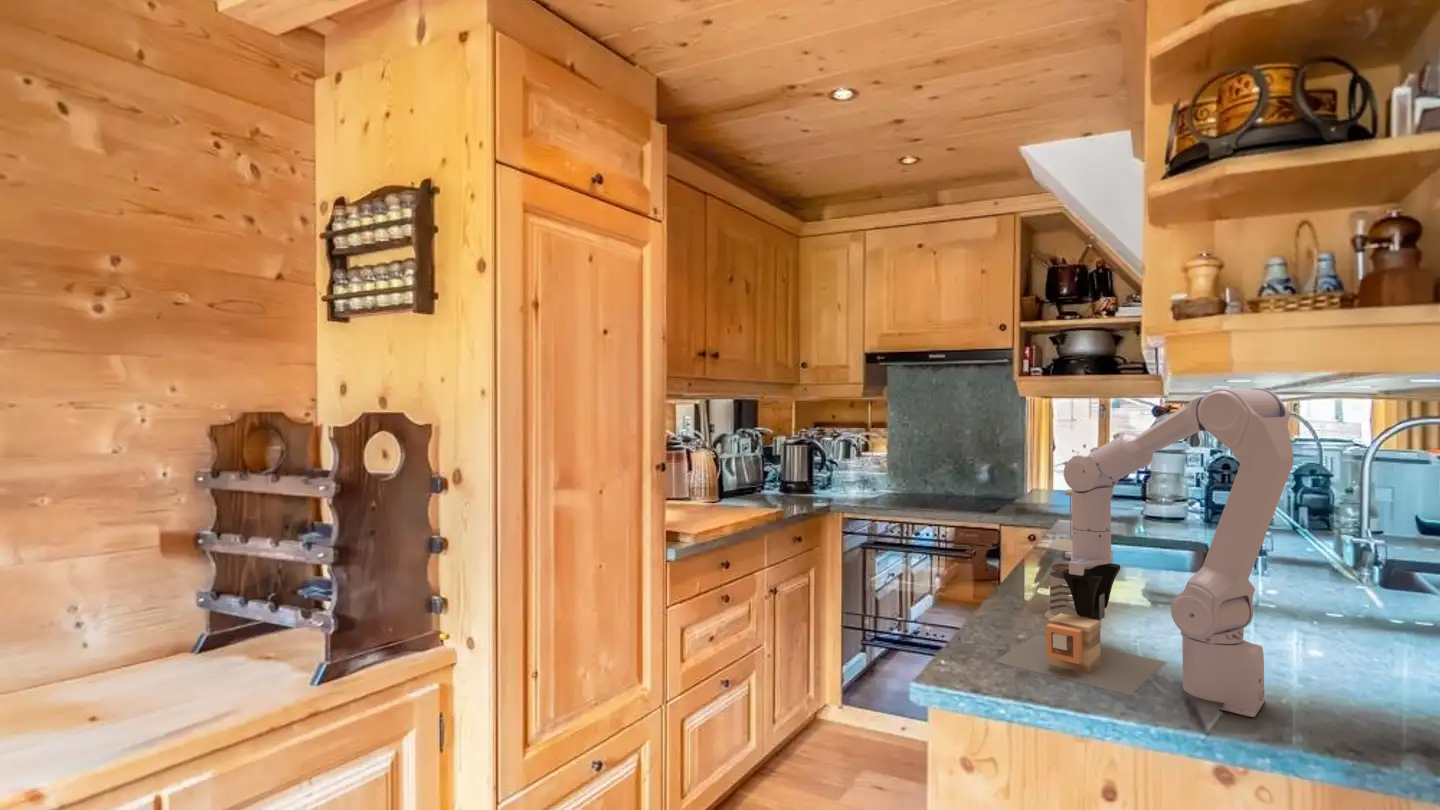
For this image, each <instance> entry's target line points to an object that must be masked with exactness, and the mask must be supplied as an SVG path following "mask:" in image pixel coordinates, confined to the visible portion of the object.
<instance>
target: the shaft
mask: <svg viewBox="0 0 1440 810" xmlns="http://www.w3.org/2000/svg"><path fill="white" fill-rule="evenodd" d="M1105 609H1106V608H1105V599H1104V593H1101V592H1096V596H1095V604H1094V611H1093V615H1092V617H1091V618H1089V617H1084V616H1080V617H1083V618H1089V619H1094V620H1099V621H1100V629H1101V628H1102V620H1103V619H1104V618H1105V615H1106V614H1105V613H1106V612H1105V611H1106V610H1105ZM1072 646H1073V636H1069V635H1064V634H1059V633H1054V634H1053V648H1058V649H1063V650H1068V649H1069V648H1071V647H1072Z"/></svg>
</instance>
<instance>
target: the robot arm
mask: <svg viewBox="0 0 1440 810" xmlns="http://www.w3.org/2000/svg"><path fill="white" fill-rule="evenodd" d="M1291 415H1292V413H1291V411H1290V410H1289V409H1288V407H1287V406H1286V404H1285V403H1284V402H1283V401H1282V400H1281V399H1280V397H1279V396H1278V395H1277V394H1276V393H1274V392H1273V391H1271V390H1269V389H1266V388H1260V387H1259V388H1250V389H1229V388H1216V389H1213V390H1210V391H1209V392H1207V393H1206V394H1204V395H1203V396H1199V397H1196V398H1193V399H1192V400H1191V401H1189V402H1188V403H1187V404H1186V405H1184V406H1182V407H1181V408H1180V409H1178V410H1176V411H1174V412H1173V413H1172V414H1169V415H1168V416H1167V417H1165V418H1163V419H1162V420H1160V421H1158V422H1157V423H1156V424H1153V425H1152V426H1151V427H1149V428H1147V429H1146V430H1144V431H1143V432H1141V433H1135V432H1131V431H1127V432H1124V431H1121V432H1119V431H1118V432H1117V433H1115V434H1113V435H1112V438H1113V439H1112V440H1111V441H1108V442H1106V443H1105V444H1103V445H1102V446H1100V447H1099V446H1095V447H1093V448H1091V449H1090V450H1089V451H1090V453H1088V455H1081V454H1080V455H1079V454H1078V455H1073V456H1072V457H1071V458H1070V459H1069V460H1068V461H1067V462H1066V463H1065V465H1064V468H1063V478H1064V480H1065V481H1064V482H1065V483H1066V484H1067V486H1068V487H1069V489H1072V496H1071V538H1072V552H1066V553H1064V554H1065V555H1064V557H1065V558H1069V559H1070V558H1071V561H1069V562H1068V564H1069V569H1066V570H1064V571H1063V578H1064V579H1065V581H1066V583H1067V584H1068V585H1067V586H1069V589H1070V591H1071V594H1072V595H1071V596H1072V597H1073V601H1072V602H1073V604H1074V605H1075V609H1076V612H1077V615H1079V616H1084V617H1089V618H1091V617H1092V615H1093V611H1094V604H1095V596H1096V592H1101V593H1104V599H1105V609H1107V607H1108V605H1109V601H1110V597H1111V592H1112V589H1113V585H1114V582H1115V580H1116V578H1117V575H1118V574H1119V572H1120V570H1121V565H1120V564H1118V563H1113V561H1114V550H1113V549H1112V518H1111V517H1112V513H1111V511H1112V509H1111V506H1112V505H1111V504H1112V502H1111V501H1112V498H1113V496H1114V495H1113V491H1114V488H1115V486H1117V484H1118V482H1119V481H1120V480H1121V479H1123V478H1124V477H1126V476H1129V475H1131V474H1133V473H1135V472H1137V471H1138V470H1141V469H1143V468H1144V467H1146V466H1149V465H1150V464H1151V463H1152V461H1153V458H1154V453H1155V452H1158V451H1159V450H1162V449H1164V448H1166V447H1169V446H1171V445H1173V444H1175V443H1177V442H1179V441H1181V440H1184V439H1186V438H1188V437H1190V436H1192V435H1194V434H1196V433H1200V432H1208V433H1210V434H1211V435H1212V437H1214V438H1215V439H1216V440H1218V441H1219V442H1220V443H1222V445H1224V446H1225V447H1227V448H1228V449H1229V450H1230V451H1231V453H1232V454H1233V455H1234V458H1236V460H1237V461H1238V463H1239V467H1238V470H1237V472H1236V474H1235V478H1234V480H1233V483H1232V486H1231V488H1230V491H1229V494H1228V497H1227V499H1226V502H1225V505H1224V507H1223V510H1222V513H1221V516H1220V518H1219V521H1218V524H1217V527H1216V530H1215V532H1214V535H1213V537H1212V541H1211V543H1210V546H1209V548H1208V552H1207V554H1206V556H1205V560H1204V562H1203V565H1202V567H1200V569H1199V570H1198V571H1196V572H1195V573H1194V574H1193V575H1192V576H1191V577H1190V578H1189V579H1188V581H1187V582H1186V585H1185V587H1184V589H1183V590H1182V592H1180V593H1179V594H1178V595H1176V596H1175V597H1174V598H1173V600H1172V602H1171V606H1170V613H1171V618H1172V620H1173V623H1174V624H1175V625H1176V627H1177V628H1178V629H1179V630H1180V635H1181V637H1182V642H1181V643H1182V644H1181V645H1182V654H1181V655H1182V690H1183V691H1184V692H1185V693H1187V694H1189V695H1191V696H1193V697H1196V698H1199V699H1202V700H1205V701H1208V702H1209V701H1210V702H1215V703H1221V704H1222V703H1223V704H1222V706H1221V707H1220V708H1219V711H1220V710H1222V711H1225V712H1229V713H1233V714H1236V715H1237V714H1238V715H1242V716H1246V717H1249V718H1250V717H1251V718H1255V717H1256V716H1257V714H1258V712H1259V711H1260V710H1261V708H1262V707H1263V705H1264V703H1265V702H1266V698H1265V662H1264V661H1265V659H1264V658H1265V655H1264V650H1263V649H1264V648H1263V646H1262V645H1260V644H1256V643H1252V642H1249V641H1247V640H1245V639H1244V636H1245V632H1244V631H1245V629H1244V628H1246V627H1248V626H1249V625H1250V624H1251V622H1252V621H1253V618H1254V615H1255V614H1254V611H1255V610H1254V606H1253V597H1254V594H1255V591H1256V588H1255V586H1254V585H1253V584H1252V583H1251V582H1250V580H1249V578H1250V576H1251V574H1252V571H1253V569H1254V566H1255V564H1256V561H1257V558H1258V556H1259V553H1260V550H1261V548H1262V545H1263V543H1264V540H1265V538H1266V535H1267V532H1268V529H1269V527H1270V524H1271V522H1272V519H1273V517H1274V515H1275V512H1276V509H1277V507H1278V505H1279V501H1280V499H1281V496H1282V494H1283V491H1284V489H1285V487H1286V484H1287V481H1288V478H1289V476H1290V474H1291V471H1292V468H1293V466H1294V461H1295V457H1294V451H1293V447H1292V441H1291V435H1290V429H1289V421H1290V418H1291Z"/></svg>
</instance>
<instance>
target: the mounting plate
mask: <svg viewBox="0 0 1440 810" xmlns="http://www.w3.org/2000/svg"><path fill="white" fill-rule="evenodd" d="M1100 653H1101V665H1100V666H1099V667H1098V668H1096V669H1095V670H1094V671H1093V672H1091V673H1090V674H1087V673H1083V672H1079V671H1074V670H1070V669H1066V668H1062V667H1058V666H1053V665H1049V657H1046V635H1041V634H1037V635H1036V636H1034V637H1032V638H1030V639H1028V640H1026V642H1024V643H1022V644H1021V645H1019V646H1017V647H1015V648H1013V649H1012V650H1010V651H1007V652H1006V653H1005V654H1003V655H1001V656H1000V657H998V658H996V659H994V660H993V661H992V662H993V663H996V664H997V663H998V664H1001V665H1007V666H1009V667H1015V668H1018V669H1023V670H1024V671H1025V670H1026V671H1031V672H1034V673H1038V674H1042V675H1046V676H1050V677H1055V678H1058V679H1063V680H1066V681H1070V682H1075V683H1079V684H1083V685H1087V686H1091V687H1094V688H1095V687H1096V688H1099V689H1103V690H1106V691H1111V692H1115V693H1118V694H1123V695H1128V696H1132V695H1133V694H1135V692H1136V691H1137V690H1138V689H1140V688H1141V687H1142V686H1143V685H1144V684H1145V683H1146V682H1147V681H1148V680H1149V679H1151V678H1152V676H1154V675H1155V673H1157V672H1159V670H1160V669H1161V668H1162V667H1164V666H1165V665H1166V664H1167V661H1163V660H1159V659H1154V658H1149V657H1145V656H1139V655H1135V654H1130V653H1125V652H1120V651H1116V650H1111V649H1107V648H1102V647H1100Z"/></svg>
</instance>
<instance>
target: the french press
mask: <svg viewBox="0 0 1440 810" xmlns="http://www.w3.org/2000/svg"><path fill="white" fill-rule="evenodd" d="M1064 496H1069V537H1068V538H1062V539H1057V540H1054V541H1052V542H1051V543H1050V544H1048V549H1049V550H1051V551H1053V552H1058V553H1064V554H1065V553H1066V552H1072V489H1071V488H1068V489H1067V490H1066V491H1065V495H1064ZM1069 560H1070V561H1071V558H1069ZM1070 561H1069V562H1070ZM1069 562H1068V563H1060V562H1059V563H1055V564H1052V565H1051V567H1050V568H1051V569H1052V570H1053V571H1051V572H1049V610H1047V611H1046V612H1044V617H1045V618H1046V619H1048V620H1049V619H1051V618H1053V617H1055V616H1056V615H1058V614H1060V613H1062V614H1067V615H1073V616H1078V617H1080V616H1079V615H1077V612H1076V609H1075V605H1074V601H1073V597H1072V594H1071V591H1070V589H1069V586H1068V584H1067V583H1066V581H1065V579H1064V578H1063V571H1064V570H1066V569H1069ZM1072 602H1073V603H1072Z"/></svg>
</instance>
